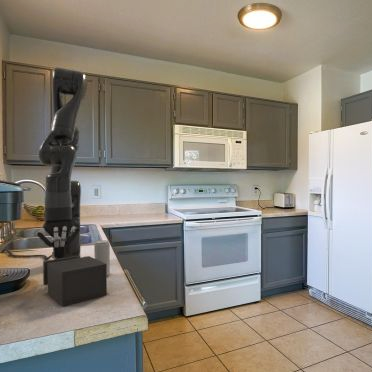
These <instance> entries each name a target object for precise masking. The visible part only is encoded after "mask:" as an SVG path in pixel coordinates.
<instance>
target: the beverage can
mask: <svg viewBox="0 0 372 372" xmlns="http://www.w3.org/2000/svg"><path fill="white" fill-rule="evenodd" d="M110 243H111V242H110V240H107V239H106V240H97V241H94V249H93V250H94V259H97V260H99V261H101V262H103V263H106V264H107V277H108V276H109V275H110V274H111V268H110V267H111V265H110V264H111V262H110V260H111V259H110V257H111V255H110V253H111V252H110V247H111V246H110V245H111V244H110Z"/></svg>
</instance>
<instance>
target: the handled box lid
mask: <svg viewBox="0 0 372 372" xmlns="http://www.w3.org/2000/svg"><path fill="white" fill-rule="evenodd" d="M75 258H80V256H73V257H67V258H61V259H48V260H43V261H42V274H43V275H42V284H43V286H48V272H47V263H50V262H56V261H63V260H69V259H75Z"/></svg>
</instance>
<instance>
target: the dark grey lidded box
mask: <svg viewBox="0 0 372 372" xmlns="http://www.w3.org/2000/svg"><path fill="white" fill-rule="evenodd" d="M47 272H48V285H47V295H49V296H50V297H51V298H52V299H53V300H54V301H55V302H57V303H58V304H59V306H61V307H65V306H69V305H73V304H76V303H81V302H85V301H88V300H93V299H97V298H99V297H104V296H107V295H108V287H107V286H108V284H107V283H108V282H107V281H108V278H107V277H108V276H107V264H106V263H103V262H101V261H99V260H97V259H95V257H92V256H89V255H88V256H81V258H75V259H69V260H63V261H56V262H50V263H47Z"/></svg>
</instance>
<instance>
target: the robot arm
mask: <svg viewBox="0 0 372 372" xmlns="http://www.w3.org/2000/svg"><path fill="white" fill-rule="evenodd" d="M87 89H88V79H87V76H86V73H85V72H83V71H79V70H74V69H71V68H70V69H69V68H63V67H54V68H53V69H52V72H51V99H52V100H51V101H52V102H51V103H52V118H51V124H50V129H49V131H48V134H47V135H46V137H45V138H44V140H43V141H42V143H41V145H40V146H39V148H38V151H37V157H38V160H39V162H40V163H41V164H42V166H43V165H44V166H46V167H50V173H48V174H46V176H45V179H44V180H45V186H44V187H45V192H44V223H43V225H42V228H41V229H40V230H37V231H35V233H34V234H35V235H36V236H37V238H38V239H40V240H41V241H42V242H43V243H44V245H46V246H48V247H49V248H52V251H51V254H50V255H49V256H48V255H46V254H13V253H12V251H11V250H9V249H7V248H4V249H2V250H1V253H4V252H7V253H8V254H9V256H10V257H13V258H36V257H40V258H41V257H42V258H44V261H48V260H50V259H52V260H54V259H61V258H67V257H73V256H80V258H81V257H82V256H81V251H82V249H81V202H82V200H81V199H82V187H81V183H80V182H79V180H71V179H72V174H73V170H74V166H75V164H76V160H77V157H78V152H79V148H80V130H79V128H78V126H77V120H78V116H79V114H80V112H81V109H82V106H83V103H84V100H85V97H86V95H87ZM64 95H65V96H71V99H70V100H69V101H68V102H67V103H65V101H64ZM47 234H48V235H49V236H50V238H51V241H50V239H48V238H47V237H46V235H47Z"/></svg>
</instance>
